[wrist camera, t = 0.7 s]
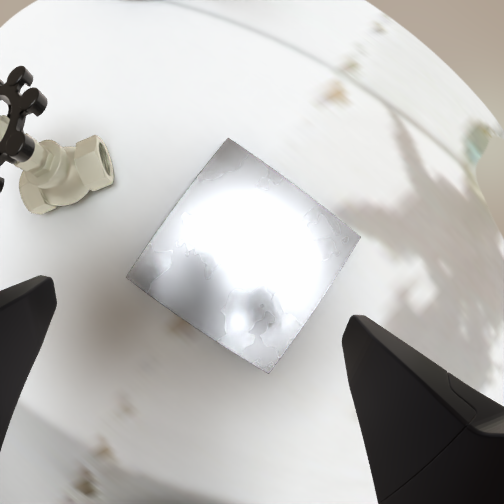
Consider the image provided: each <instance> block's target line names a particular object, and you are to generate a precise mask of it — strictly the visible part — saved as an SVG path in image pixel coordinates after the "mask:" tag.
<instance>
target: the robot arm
mask: <svg viewBox="0 0 504 504" xmlns="http://www.w3.org/2000/svg"><path fill="white" fill-rule="evenodd" d="M56 306H57V299H56V294H55V288H54V283H53V280H52V278H51V277H47V276H42V275H40V276H37V277H34V278H32V279H29V280H27V281H24V282H22V283H19V284H16V285H14V286H11V287H9V288H6V289H4V290H1V291H0V451H1V448H2V444H3V441H4V438H5V435H6V432H7V429H8V426H9V423H10V420H11V418H12V415H13V412H14V409H15V407H16V404H17V402H18V399H19V397H20V394H21V392H22V389H23V387H24V384H25V382H26V380H27V377H28V375H29V373H30V370H31V368H32V366H33V364H34V362H35V359H36V357H37V355H38V353H39V351H40V348H41V346H42V343H43V341H44V338H45V335H46V333H47V330H48V327H49V325H50V322H51V320H52V317H53V314H54V312H55V309H56ZM342 347H343V352H344V358H345V364H346V370H347V377H348V382H349V387H350V391H351V394H352V398H353V401H354V405H355V409H356V413H357V416H358V420H359V424H360V428H361V432H362V436H363V440H364V444H365V448H366V452H367V456H368V460H369V464H370V469H371V473H372V477H373V482H374V486H375V491H376V495H377V500H378V504H504V407H503V406H502V405H500V404H498V403H497V402H495V401H493V400H492V399H490V398H488V397H486V396H485V395H483V394H481V393H480V392H478V391H476V390H475V389H473V388H472V387H470V386H468V385H467V384H465V383H464V382H462V381H461V380H459V379H458V378H456V377H455V376H453V375H452V374H450V373H447V371H446V370H445V369H443V368H442V367H440V366H439V365H437V364H436V363H434V362H433V361H431V360H430V359H428V358H427V357H425V356H424V355H423V354H421V353H420V352H418V351H417V350H415V349H414V348H412V347H411V346H409V345H408V344H406V343H405V342H403V341H402V340H400V339H399V338H397V337H396V336H394V335H393V334H392V333H390V332H389V331H387V330H386V329H384V328H383V327H381V326H380V325H378V324H377V323H375V322H374V321H372V320H371V319H369V318H368V317H366V316H364V315H353V316H351V317H350V319H349V322H348V324H347V327H346V329H345V331H344V334H343V337H342Z"/></svg>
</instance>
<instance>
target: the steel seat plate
mask: <svg viewBox="0 0 504 504" xmlns="http://www.w3.org/2000/svg"><path fill="white" fill-rule="evenodd" d="M360 238H361V236H359V235H358V234H357V233H356V232H355V231H353V230H352V229H351V228H350V227H348V226H347V225H346V224H345V223H344V222H342V221H341V220H340V219H339V218H337V217H336V216H335V215H334V214H332V213H331V212H330V211H328V210H327V209H326V208H325V207H323V206H322V205H321V204H319V203H318V202H317V201H316V200H314V199H313V198H312V197H310V196H309V195H308V194H306V193H305V192H304V191H302V190H301V189H300V188H298V187H297V186H296V185H294V184H293V183H292V182H290V181H289V180H288V179H286V178H285V177H284V176H282V175H281V174H279V173H278V172H277V171H275V170H274V169H273V168H271V167H270V166H268V165H267V164H266V163H264V162H263V161H261V160H260V159H259V158H257V157H256V156H254V155H253V154H251V153H250V152H248V151H247V150H246V149H244V148H243V147H241V146H240V145H238V144H237V143H235V142H234V141H232V140H231V139H229V138H228V139H227V140H226V141H225V142H224V143H223V145H222V146H221V147H220V148H219V150H218V151H217V152H216V153H215V155H214V156H213V157H212V158H211V160H210V161H209V162H208V163H207V165H206V166H205V167H204V168H203V170H202V171H201V172H200V174H199V175H198V176H197V177H196V179H195V180H194V181H193V183H192V184H191V185H190V187H189V188H188V189H187V191H186V192H185V193H184V195H183V196H182V197H181V199H180V200H179V201H178V203H177V204H176V205H175V207H174V208H173V209H172V211H171V212H170V214H169V215H168V216H167V218H166V219H165V221H164V222H163V223H162V225H161V226H160V228H159V229H158V230H157V232H156V233H155V235H154V236H153V238H152V239H151V240H150V242H149V243H148V245H147V246H146V248H145V249H144V251H143V252H142V254H141V255H140V257H139V258H138V260H137V261H136V263H135V264H134V266H133V267H132V269H131V270H130V272H129V273H128V275H127V276H126V278H127V279H129V280H130V281H131V282H133V283H134V284H135V285H136V286H138V287H139V288H140V289H142V290H143V291H144V292H146V293H147V294H149V295H150V296H151V297H153V298H154V299H155V300H157V301H158V302H159V303H161V304H162V305H164V306H165V307H166V308H168V309H169V310H171V311H172V312H173V313H175V314H176V315H178V316H179V317H181V318H182V319H183V320H185V321H186V322H188V323H189V324H191V325H192V326H194V327H195V328H197V329H198V330H200V331H201V332H203V333H204V334H206V335H207V336H209V337H210V338H212V339H213V340H215V341H216V342H218V343H219V344H221V345H222V346H224V347H226V348H227V349H229V350H230V351H232V352H233V353H235V354H237V355H238V356H240V357H241V358H243V359H245V360H246V361H248V362H250V363H251V364H253V365H255V366H256V367H258V368H260V369H261V370H263V371H265V372H266V373H268V374H269V373H270V372H271V370H272V369H273V368H274V366H275V365H276V364H277V362H278V361H279V359H280V358H281V357H282V355H283V354H284V353H285V351H286V350H287V349H288V347H289V346H290V344H291V343H292V342H293V340H294V339H295V337H296V336H297V334H298V333H299V332H300V330H301V329H302V327H303V326H304V324H305V323H306V322H307V320H308V319H309V317H310V316H311V314H312V313H313V311H314V310H315V308H316V307H317V305H318V304H319V302H320V301H321V299H322V298H323V296H324V295H325V293H326V292H327V290H328V289H329V287H330V286H331V284H332V283H333V281H334V280H335V278H336V276H337V275H338V273H339V272H340V270H341V269H342V267H343V265H344V264H345V262H346V261H347V259H348V257H349V256H350V254H351V253H352V251H353V249H354V248H355V246H356V244H357V243H358V241H359V239H360Z"/></svg>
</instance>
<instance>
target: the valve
mask: <svg viewBox="0 0 504 504" xmlns="http://www.w3.org/2000/svg"><path fill="white" fill-rule="evenodd" d="M32 82H33V76H32V75H31V74H30V72H29V71H28V70H27V69H26V68H25V67H24V66H18V67H16V68H15V69H14V70H13V71H12V72H11V73H10V74H9V76H8V78H7V82H6V83H5V84H4V83H3V81H2V80H0V100H3V101H4V102H6V103H7V104H8V107H9V111H8V115H7V116H5V115H2V116H0V166H1V165H2V164H3V163H4V162H5V161H7V162H9V163H11V164H14V165H15V166H16V167H18V168H20V169H22V170H23V172H22V174H21V177H20V181H19V190H20V194H21V198H22V200H23V202H24V204H25V206H26V208H27V209H28V211H29V212H31V213H33V214H38V215H42V214H44V213H46V212H49V211H51V210H53V209H55V208H57V206H66V205H70V204H73V203H76V202H77V201H79V200H81V199H82V198H83V197H84V196H85V195H86V194H87V193H88V192H89V190H92V191H96V190H99V189H101V188H104V187H106V186H109V185H111V184H112V183H113V178H114V174H113V167H112V163H111V159H110V156H109V153H108V150H107V148H106V146H105V144H104V142H103V140H102V139H101V138H100V137H98V136H97V135H94V136H91V137H89V138H87V139H84V140H82V141H80V142H78V143H76V147H61V146H60V145H59V144H58V143H56V142H55V141H52V140H44V141H41V142H39V143H38V142H37V140H35V139H34V138H32V137H31V136H30V135H28V134H27V133H26V134H25V133H24V131H23V127H24V123H25V118H26V115H28V114H31V113H34V114H35V115H36V116H37V117H38V116H39V115H41V114H42V113H43V111H44V110H45V108H46V106H47V98H46V97H45V96H44V95H43V94H42V93H41V92H40V91H39V90H38V89H37V88H30V89H28V90H26V91H25V92H24V93H23V94H22V95H21V94H20V89H21V88H22V86H23V85H24V84H26V85H27V86H31V84H32ZM3 186H4V178H1V177H0V192H1V191H2V189H3Z"/></svg>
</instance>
